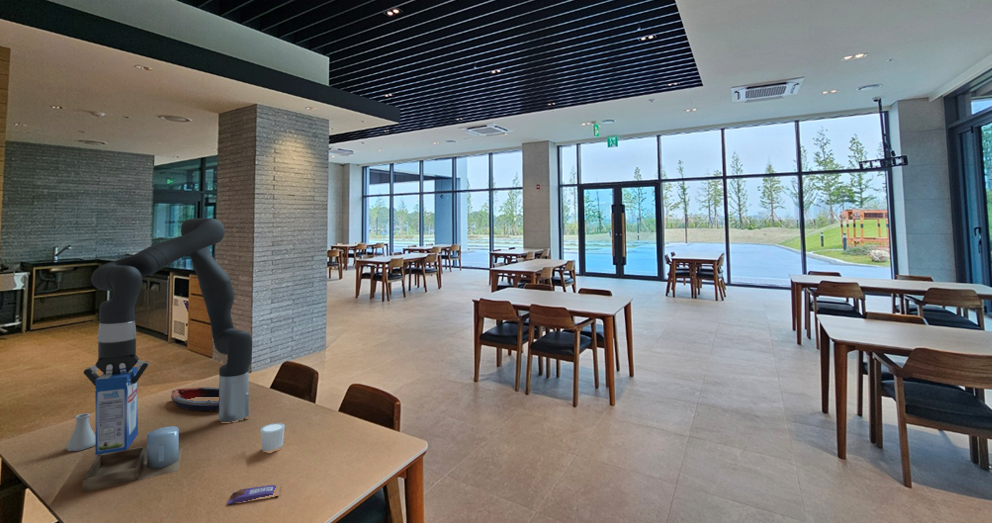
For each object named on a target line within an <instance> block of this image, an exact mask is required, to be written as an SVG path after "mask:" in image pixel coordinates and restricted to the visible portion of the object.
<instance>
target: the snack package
mask: <svg viewBox="0 0 992 523" xmlns="http://www.w3.org/2000/svg"><path fill="white" fill-rule="evenodd" d="M276 486H277V484H276V485H275V484H269V485H260V486H256V487H255V486H253V487H248V488H247V487H246V488H242V489H239V490H237V491H233V492H232V494H231V495H230V497H229V500H228V502H227V503H226V504H227V505H233V504H232V503H236V502H243V501H248V500H252V499H256V498H259V497H265V496H269V495H273V493H274V490H275V488H276ZM243 503H244V502H243ZM236 504H237V503H236Z"/></svg>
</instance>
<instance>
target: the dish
mask: <svg viewBox="0 0 992 523" xmlns="http://www.w3.org/2000/svg"><path fill="white" fill-rule="evenodd" d="M195 397H219V387H213V386H211V387H210V386H208V387H207V386H202V387H200V386H198V387H185V388H176V389H173V390H172V391H171V395H170V399H171V400H172V402H173V403H174V405H175V406H177V407H179V408H183V409H186V410H189V409H190V411H197V410H200V411H199V412H209V411H208V410H215V411H219V410H218V409H219V401H210V400H208V401H193V400H187V399H191V398H195Z"/></svg>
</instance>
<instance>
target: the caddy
mask: <svg viewBox="0 0 992 523" xmlns="http://www.w3.org/2000/svg"><path fill="white" fill-rule="evenodd" d="M183 450H184V447H179V456H178V461H177V462H175V463H174V464H172V465H170V466H167V467H164V468H159V469H149V468H147V445H142V446H137V447H134V448H133V447H132V448H128V449H127V450H123V451H117V452H111V453H105V454H99V455H96V458H95V459H94V461H93V462H92V465H91V466H90V467H89V469H88V471H87V472H86V474H85V476H84V477H83V478H82V493H88V492H92V491H95V490H101V489H105V488H109V487H112V486H117V485H118V486H119V485H123V484H126V483H131V482H134V481H135V482H136V481H140V480H143V479H149V478H152V477H156V476H162V475H166V474H169V473H176V472H179V467H180V463H181V460H182V455H183Z"/></svg>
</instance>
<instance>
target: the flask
mask: <svg viewBox="0 0 992 523" xmlns="http://www.w3.org/2000/svg"><path fill="white" fill-rule="evenodd" d="M90 415H91V413H87V412H86V413H80V414H77V415H76V416H74V418H75V419H76V421H75V423H76V424H75V427H74V430H73V432H72V434H71V437H70V439H69V441H68V443H67V445H66V446H65V450H67V451H68V452H80V451H84V450H86V449H90V448H92V447H94V446H95V432H94V430H93V428H92V427H91V424H90V419H89V418H90Z"/></svg>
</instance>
